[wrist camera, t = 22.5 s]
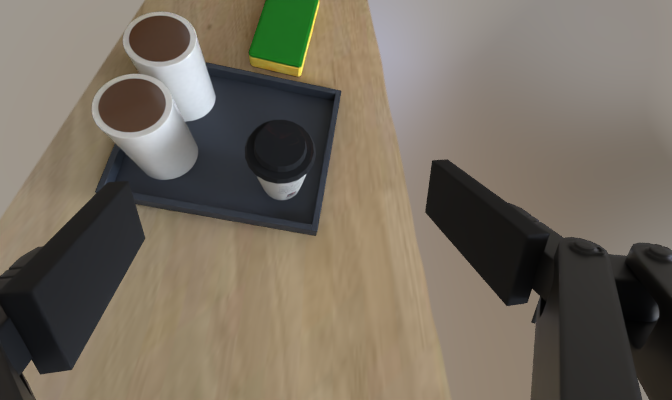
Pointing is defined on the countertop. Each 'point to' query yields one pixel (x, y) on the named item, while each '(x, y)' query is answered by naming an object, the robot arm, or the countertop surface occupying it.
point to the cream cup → (146, 125)
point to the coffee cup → (280, 157)
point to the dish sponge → (283, 35)
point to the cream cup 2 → (172, 60)
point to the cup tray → (242, 154)
